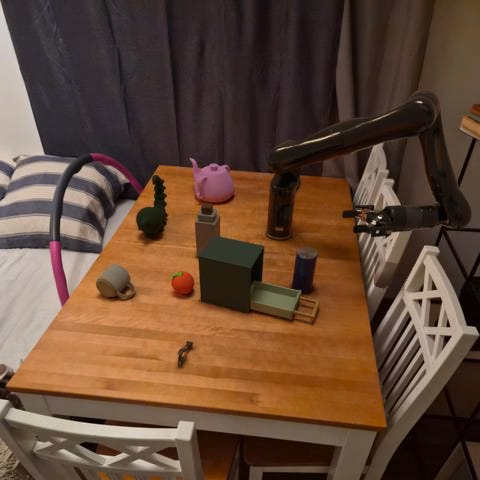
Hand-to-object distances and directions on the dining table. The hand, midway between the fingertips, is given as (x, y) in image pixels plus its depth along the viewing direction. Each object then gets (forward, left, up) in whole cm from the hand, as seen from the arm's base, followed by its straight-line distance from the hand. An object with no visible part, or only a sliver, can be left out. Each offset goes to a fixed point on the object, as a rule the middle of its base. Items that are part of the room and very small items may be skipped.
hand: (348, 221), depth 114 cm
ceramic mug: (+28, -61, -22) cm, 71 cm away
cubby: (+17, -28, -22) cm, 40 cm away
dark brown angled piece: (+45, -30, -22) cm, 59 cm away
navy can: (+5, -9, -22) cm, 25 cm away
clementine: (+21, -43, -22) cm, 53 cm away
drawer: (+17, -13, -21) cm, 30 cm away
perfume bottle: (-2, -44, -22) cm, 50 cm away
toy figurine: (-10, -70, -22) cm, 74 cm away
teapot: (-45, -62, -22) cm, 80 cm away
